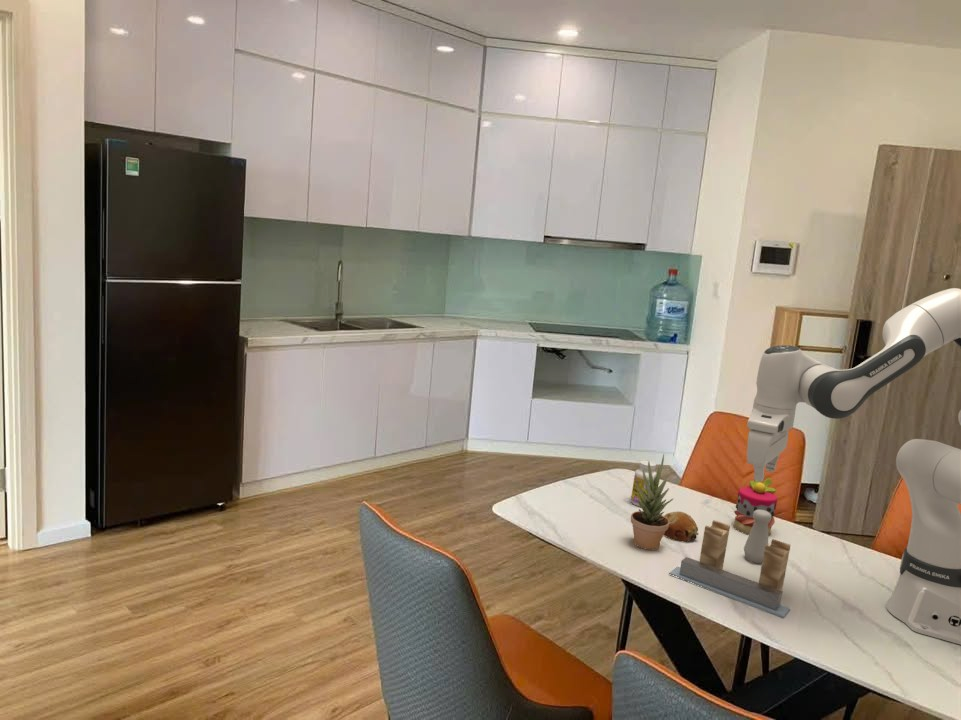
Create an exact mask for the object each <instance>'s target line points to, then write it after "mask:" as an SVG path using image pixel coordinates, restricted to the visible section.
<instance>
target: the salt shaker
mask: <svg viewBox="0 0 961 720" xmlns="http://www.w3.org/2000/svg"><path fill="white" fill-rule="evenodd" d="M753 519H754V520H755V522H754V524H753V527H752V529H751V531H750V534H749V535H748V537H747V539H746V541H745V544H744V546H743V552H744V555H745V560H747V561H748V562H751V563H755V564H757V565H758V564H762V562H763V556H764V551H765V546H766V545H768V546H769V536H768V523H769V522H770V521H771V514H770V513H769V512H767V511H765V510H755V511H754V513H753Z"/></svg>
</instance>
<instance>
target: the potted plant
mask: <svg viewBox="0 0 961 720" xmlns="http://www.w3.org/2000/svg"><path fill="white" fill-rule="evenodd" d="M664 460H665V454H664V453H663V454H662V458H661V462H660V463H661V464H659V465H658V467H657V471H656V473H657V474H655V476H656V477H654V482H653V476H652V472H651V467H650V463H649V461H650V460H647V461H648V473H649V482H650V486H649V483H648V481H647V478H646V475H645V473H644V470H643V478H644V483H645V487H646V491H647V495H646V493H645V491H644V492H643V490H642V489H641V488H640V487H639V485H638V484H637V486H638V489H639V491H640V493H641V495H642V497H643V498H644V500H645V501H644V500H643V499H642V497H641V495H640V493H639V491H638V489H637V487H636V490H637V492H638V495H639V497H640V500H641V501H640V500H639V501H638V500H636V501H637V502H638V504H639V505H640V507H639V508H638V510H637V511H634V512H632V513H631V514H630V523H631V524H632V531H633V542H634V545H635V544H636V545H635V546H637V545H638V546H639V548H640V547H642V548H641V549H643V548H646V549H645V550H648V549H655V550H657V549H658V548H659V547H660V545H661V540H662V538H663V537H664V533H665V531H666V530H667V529H668V527H669V520H668V519H667V518H666V517H664V515H663V514H664V513H665V511H663V510H664V509H665V508H666V506H667V505H668V504H669V503H671V502H672V501H673V500H674V498H671V499H669V500H668V501H667V499H664V498H665V496H666V495H667V493H668V492H669V490H670V488H669V487H668V488H667V489H665V486H666V484H667V482H668V476H666V477H665V478H664V480H663V481H662V482H661V484H660V479H661V475H662V471H663V467H664V463H665V461H664ZM664 489H665V490H664ZM663 490H664V492H663ZM663 499H664V500H663ZM640 508H641V509H642V510H641V509H640ZM638 546H637V547H638Z"/></svg>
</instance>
